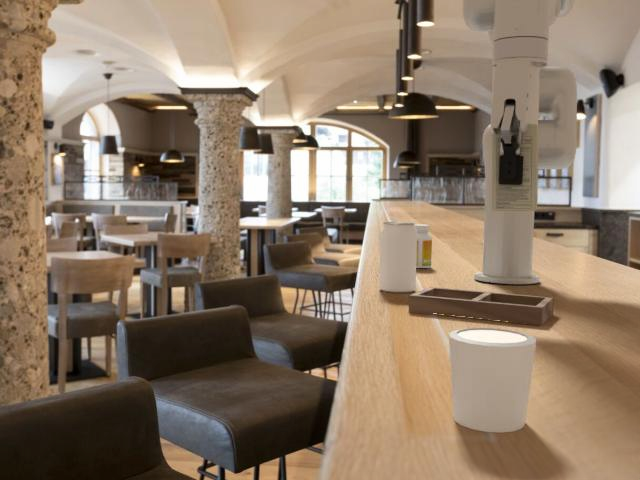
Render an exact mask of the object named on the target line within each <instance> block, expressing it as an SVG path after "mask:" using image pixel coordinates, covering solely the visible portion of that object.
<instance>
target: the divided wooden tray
mask: <svg viewBox="0 0 640 480" xmlns="http://www.w3.org/2000/svg"><path fill="white" fill-rule="evenodd" d="M554 300H555V298H554V296H553V297H549V296H540V295H528V294H527V295H526V294H518V293H517V294H515V293H508V292H507V293H505V292H504V293H503V292H496V291H495V292H494V291H492V292H491V291H482V290H469V289H459V288H446V287H435V286H429V287H426V288H424V289H422V290H419V291H417V292H415V293H414V292H413V293H412V294H409V295H408V313H414V314H423V315H424V314H426V315H432V314H433V313H437V314H444V315H455V316H465V317H473V318H482V319H490V320H500V321H508V322H516V323H515V324H518V323H525V324H524V325H527V324H534V325H533V326H537V325H542V324H543V325H544V324H545V323H546V322H547V321H548V320H549V319H550V318H551V317H552V316H553V315H554V302H555V301H554ZM508 322H507V323H508ZM543 325H542V326H543Z"/></svg>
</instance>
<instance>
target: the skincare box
mask: <svg viewBox="0 0 640 480" xmlns="http://www.w3.org/2000/svg"><path fill="white" fill-rule="evenodd" d="M519 126H520V124H519ZM499 127H500V128H501V125H499ZM495 132H496V133H498V135H495V134H494V133H492V210H494V211H534V212H535V211H537V210H538V200H539V199H538V196H539V195H538V190H539V189H538V187H539V186H538V185H539V184H538V183H539V182H538V181H539V169H538V125H537V124H530V128H529V132H528V133H526V134H523V142H522V152H521V156H524V159H523V182H522V184H521V185H501V184H499V159H500V145H501V129H496V130H495ZM513 132H519V129H513ZM516 143H517V140H516Z"/></svg>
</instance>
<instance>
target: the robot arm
mask: <svg viewBox="0 0 640 480" xmlns="http://www.w3.org/2000/svg"><path fill="white" fill-rule="evenodd" d="M575 1H576V0H462V17H463V20H464V23H465V25H466V26H467V28H468V29H470V30H471V31H474V32H480V33H481V32H482V33H483V32H484V33H485V32H487V34H488V36H489V39H490V42H491V46H492V61H491V63H492V65H491V66H492V81H491V82H492V84H491V85H492V86H491V99H492V100H491V110H490V111H491V112H490V124H489V125H488V126H487V127H486V128H485V129H484V131H483V135H482V140H481V141H482V142H481V143H482V154H483V163H484V179H485V181H484V184H485V185H484V187H485V188H484V189H485V190H484V212H483V214H484V216H483V217H484V219H483V220H484V221H483V243H482V246H483V247H482V266H481V267H482V271H477V272H475V273H474V274H473V275H474V276H473V278H474V279H475V280H477V281H479V282H485V283H489V282H490V283H491V284H500V285H534V284H538V283H540V281H541V279H540V275H537V274H535V273H532V272H533V254H534V252H533V251H534V227H535V211H494V210H492V133H494V134H495V135H498V133H496V132H495V130H496V129H501V145H500V159H499V184H501V185H521V184H522V182H523V159H524V156H521V152H522V142H523V134H526V133H528V132H529V128H530V124H537V125H538V170H564V169H568V168H569V167H570V166H571V165H572V164H573V163H574V161H575V159H576V154H577V140H578V139H577V137H578V136H577V134H578V131H577V130H578V129H577V126H578V125H577V122H578V121H577V119H578V117H577V116H578V114H577V112H578V108H577V107H578V89H577V87H578V86H577V80H576V76H575V74H574V72H573V71H572V70H571V69H570V68H567V67H565V66H548V58H549V56H548V55H549V54H548V53H549V34H550V27H551V26H552V25H553V24H554V23H555V21H556V20H557V18H561V17H565V16H567V15H568V14H569V13H570V12H571V11H572V9H573V7H574V4H575ZM539 117H548V118H549V119H539ZM519 124H520V126H519ZM499 125H501V128H500V127H499ZM513 129H519V132H513ZM516 140H517V143H516Z"/></svg>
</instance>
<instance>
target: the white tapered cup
mask: <svg viewBox="0 0 640 480" xmlns="http://www.w3.org/2000/svg"><path fill="white" fill-rule="evenodd" d="M448 341H449V345H448V347H449V359H450V375H451V376H450V377H451V378H450V379H451V392H452V393H451V394H452V411H453V419H454V422H456V423H457V424H458V425H460V426H462V427H464V428H467V429H469V430H470V429H471V430H474V431H479V432H483V433H484V432H485V433H498V434H499V433H501V434H502V433H510V432H512V433H513V432H515V431H519V430H521V429H523V428H524V426H525V425H526V417H527V413H528V411H527V410H528V403H529V396H530V391H531V390H530V389H531V383H532V377H533V370H534V369H533V368H534V361H535V354H536V347H537V339H536V338H535V337H534V336H532V335H530V334H528V333H527V334H526V333H523V332H520V331H514V330H510V329H502V328H495V327H494V328H492V327H491V328H490V327H489V328H488V327H487V328H486V327H475V328H474V327H472V328H471V327H470V328H469V327H468V328H461V329H455V330H452V331H451V332H448Z"/></svg>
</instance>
